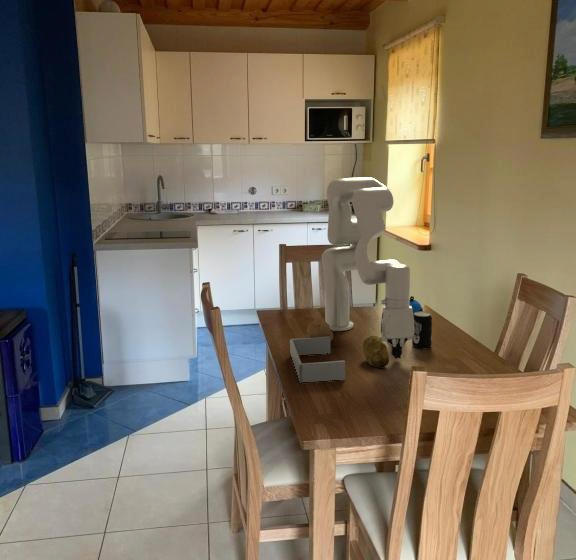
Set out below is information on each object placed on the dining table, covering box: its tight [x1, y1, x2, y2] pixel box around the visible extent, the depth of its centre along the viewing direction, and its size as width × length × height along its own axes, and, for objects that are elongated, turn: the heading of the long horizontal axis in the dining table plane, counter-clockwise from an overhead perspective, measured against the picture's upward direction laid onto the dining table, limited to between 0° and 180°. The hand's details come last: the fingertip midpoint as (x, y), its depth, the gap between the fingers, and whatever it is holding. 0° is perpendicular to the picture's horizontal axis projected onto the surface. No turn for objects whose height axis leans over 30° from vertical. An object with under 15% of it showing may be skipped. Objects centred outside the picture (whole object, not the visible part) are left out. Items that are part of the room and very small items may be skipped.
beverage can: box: [411, 310, 433, 350], centre depth 194 cm, size 7×7×12 cm
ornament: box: [409, 295, 424, 316], centre depth 225 cm, size 9×9×10 cm
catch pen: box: [289, 336, 346, 383], centre depth 179 cm, size 24×14×6 cm, turn 7°
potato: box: [362, 335, 390, 369], centre depth 181 cm, size 8×13×8 cm, turn 173°
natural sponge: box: [306, 318, 334, 342], centre depth 199 cm, size 9×9×10 cm
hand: (396, 357), depth 182 cm, fingers closed
